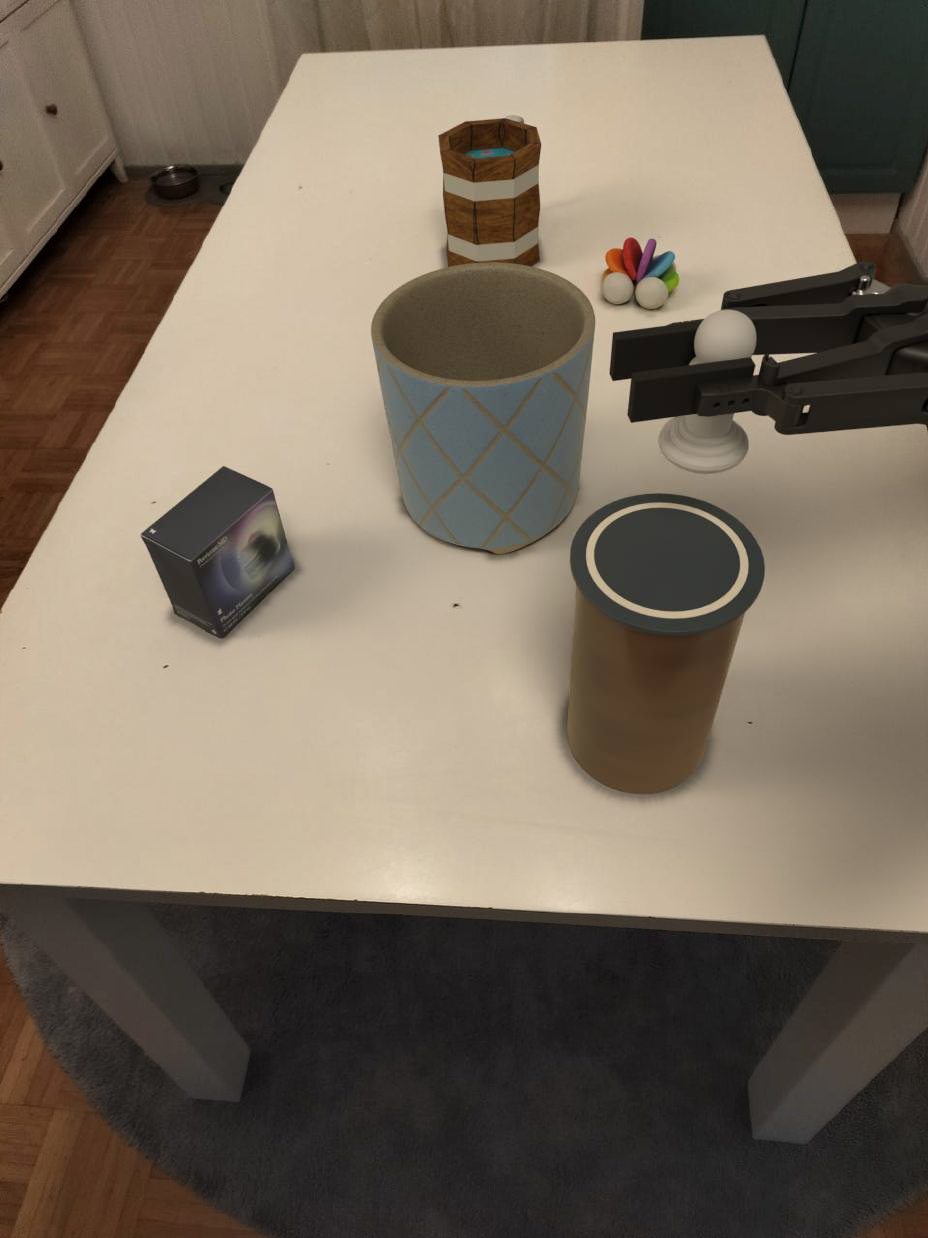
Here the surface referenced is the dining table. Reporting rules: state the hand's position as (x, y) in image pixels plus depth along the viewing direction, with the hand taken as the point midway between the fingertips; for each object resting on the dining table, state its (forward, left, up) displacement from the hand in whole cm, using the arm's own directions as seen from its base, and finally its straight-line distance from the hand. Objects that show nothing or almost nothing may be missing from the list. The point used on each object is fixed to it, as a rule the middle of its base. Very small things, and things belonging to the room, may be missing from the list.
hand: (622, 377), depth 49 cm
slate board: (-4, -2, -12) cm, 13 cm away
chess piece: (-2, -5, -6) cm, 8 cm away
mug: (+72, -29, -32) cm, 84 cm away
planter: (+27, -4, -32) cm, 42 cm away
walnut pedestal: (-4, -2, -32) cm, 32 cm away
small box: (+27, +22, -32) cm, 47 cm away
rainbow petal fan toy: (+51, -39, -32) cm, 71 cm away
